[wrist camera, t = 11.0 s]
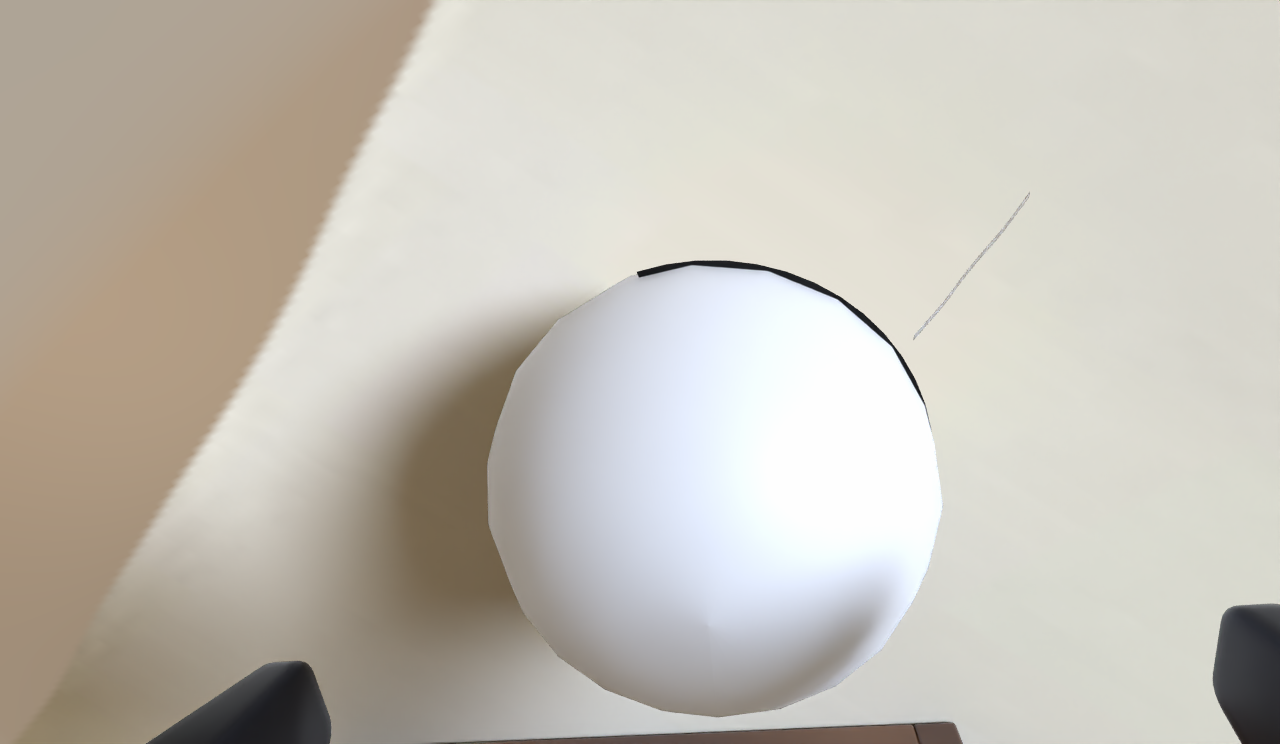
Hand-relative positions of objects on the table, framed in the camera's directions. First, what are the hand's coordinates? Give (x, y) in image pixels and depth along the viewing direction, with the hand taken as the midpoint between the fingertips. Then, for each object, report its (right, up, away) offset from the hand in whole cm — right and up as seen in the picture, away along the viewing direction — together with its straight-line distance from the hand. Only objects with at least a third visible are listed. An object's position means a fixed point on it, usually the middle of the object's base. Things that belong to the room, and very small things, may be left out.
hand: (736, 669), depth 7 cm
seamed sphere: (+2, +3, +8) cm, 9 cm away
